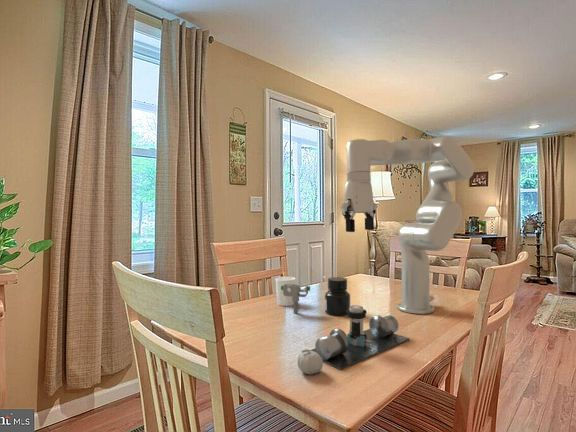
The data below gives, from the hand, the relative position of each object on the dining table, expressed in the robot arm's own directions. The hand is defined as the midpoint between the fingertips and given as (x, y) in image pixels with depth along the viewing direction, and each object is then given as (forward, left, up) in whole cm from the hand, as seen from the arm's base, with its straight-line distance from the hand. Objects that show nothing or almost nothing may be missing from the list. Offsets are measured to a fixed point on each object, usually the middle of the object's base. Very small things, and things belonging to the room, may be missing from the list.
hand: (360, 230), depth 112 cm
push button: (+17, +13, -29) cm, 36 cm away
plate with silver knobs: (+17, +13, -30) cm, 37 cm away
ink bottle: (-1, -12, -30) cm, 32 cm away
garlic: (+37, +15, -30) cm, 50 cm away
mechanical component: (+11, -21, -30) cm, 38 cm away
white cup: (+6, -33, -30) cm, 45 cm away
